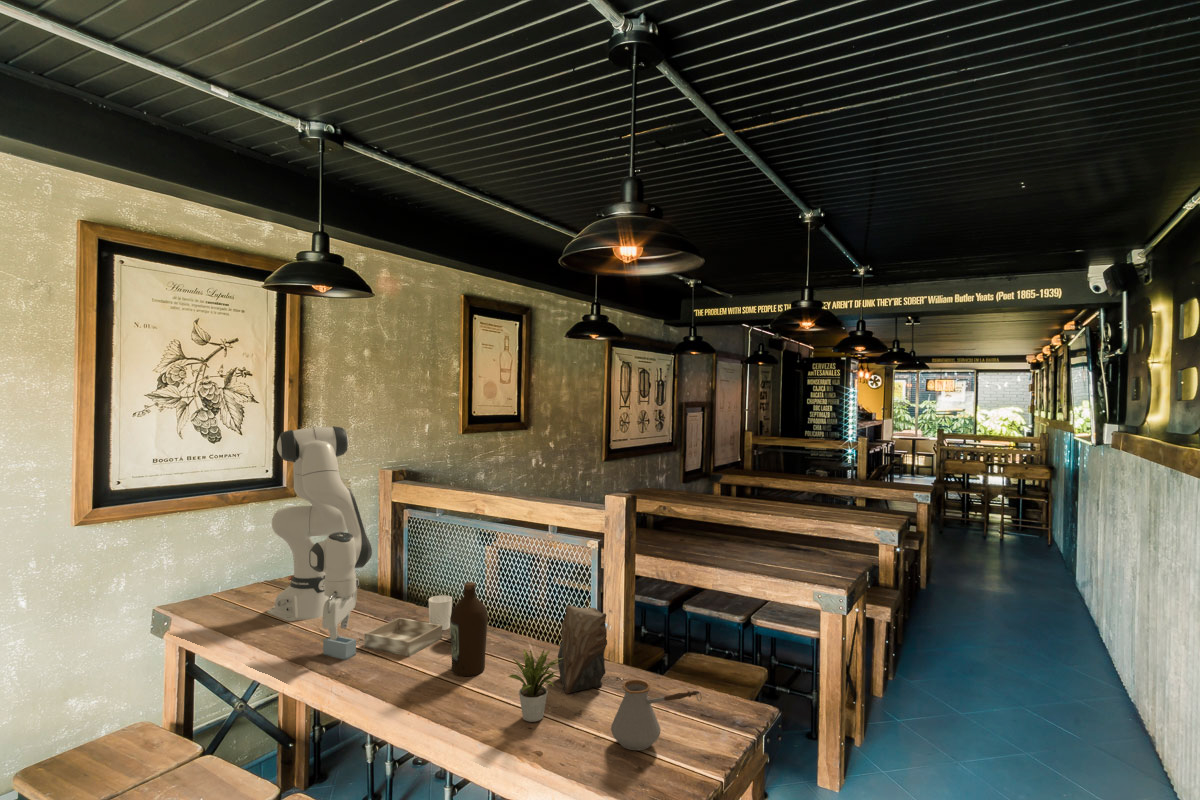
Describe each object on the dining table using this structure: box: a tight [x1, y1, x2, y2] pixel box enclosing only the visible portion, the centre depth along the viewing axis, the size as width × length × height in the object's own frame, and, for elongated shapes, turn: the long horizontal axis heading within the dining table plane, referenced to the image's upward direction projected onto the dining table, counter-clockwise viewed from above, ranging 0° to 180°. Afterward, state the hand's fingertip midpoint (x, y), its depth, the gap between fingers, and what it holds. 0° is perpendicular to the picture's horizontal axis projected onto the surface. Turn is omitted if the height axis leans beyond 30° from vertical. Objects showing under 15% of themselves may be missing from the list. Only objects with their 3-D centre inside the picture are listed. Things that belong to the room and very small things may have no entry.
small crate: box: [322, 635, 357, 661], centre depth 189 cm, size 9×4×5 cm, turn 68°
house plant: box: [508, 648, 563, 723], centre depth 153 cm, size 14×14×16 cm
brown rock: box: [557, 604, 608, 695], centre depth 174 cm, size 13×13×20 cm
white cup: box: [428, 594, 453, 631], centre depth 214 cm, size 8×8×10 cm
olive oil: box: [450, 581, 489, 677], centre depth 181 cm, size 11×11×25 cm
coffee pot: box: [610, 679, 702, 751], centre depth 141 cm, size 21×12×15 cm, turn 62°
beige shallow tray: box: [363, 617, 443, 658], centre depth 199 cm, size 18×16×4 cm
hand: (339, 633), depth 189 cm, fingers open, 8 cm apart
